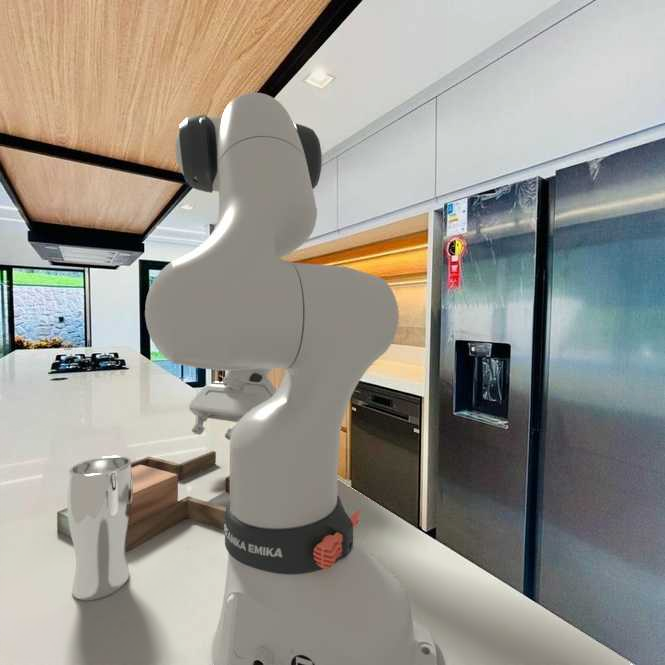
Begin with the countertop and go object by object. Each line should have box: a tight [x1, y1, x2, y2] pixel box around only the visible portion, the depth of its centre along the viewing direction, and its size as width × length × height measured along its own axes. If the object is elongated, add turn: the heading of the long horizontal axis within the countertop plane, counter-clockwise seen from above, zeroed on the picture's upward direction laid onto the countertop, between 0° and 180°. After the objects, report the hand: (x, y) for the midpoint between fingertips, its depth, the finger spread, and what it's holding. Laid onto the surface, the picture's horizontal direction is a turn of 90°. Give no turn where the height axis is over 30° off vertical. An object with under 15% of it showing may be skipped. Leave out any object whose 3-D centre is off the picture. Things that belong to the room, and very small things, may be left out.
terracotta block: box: [129, 465, 179, 526], centre depth 62 cm, size 10×10×7 cm
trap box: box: [56, 450, 230, 553], centre depth 70 cm, size 35×33×3 cm
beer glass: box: [66, 455, 133, 601], centre depth 46 cm, size 7×7×15 cm
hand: (212, 435), depth 77 cm, fingers open, 8 cm apart
